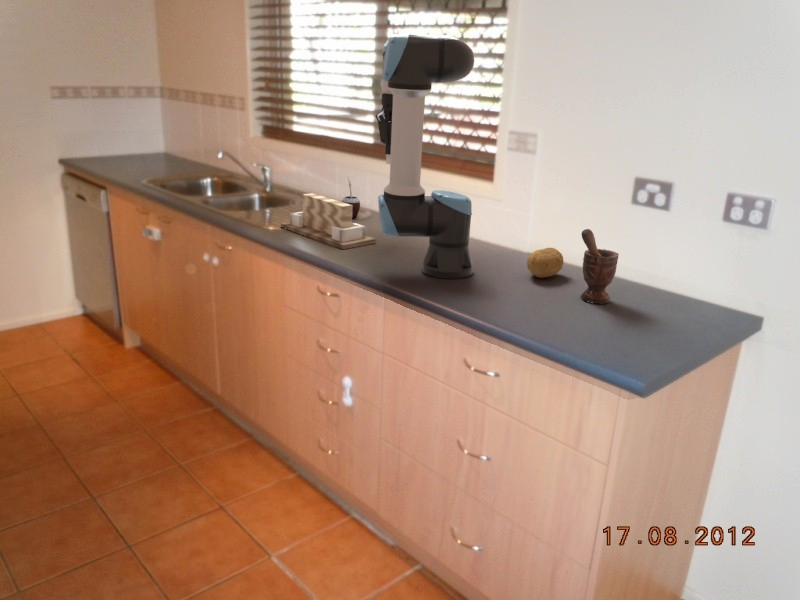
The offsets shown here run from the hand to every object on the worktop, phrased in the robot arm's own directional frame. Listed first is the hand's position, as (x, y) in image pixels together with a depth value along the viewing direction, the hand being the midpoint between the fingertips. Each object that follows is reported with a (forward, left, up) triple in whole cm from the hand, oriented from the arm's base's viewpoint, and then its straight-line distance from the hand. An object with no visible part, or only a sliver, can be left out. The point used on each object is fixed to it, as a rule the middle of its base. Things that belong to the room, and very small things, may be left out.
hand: (390, 163), depth 231 cm
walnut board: (-6, +22, -24) cm, 33 cm away
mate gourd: (+22, +14, -25) cm, 36 cm away
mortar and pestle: (-70, -52, -25) cm, 91 cm away
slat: (-7, +22, -23) cm, 32 cm away
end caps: (-7, +22, -23) cm, 32 cm away
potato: (-49, -44, -25) cm, 70 cm away
